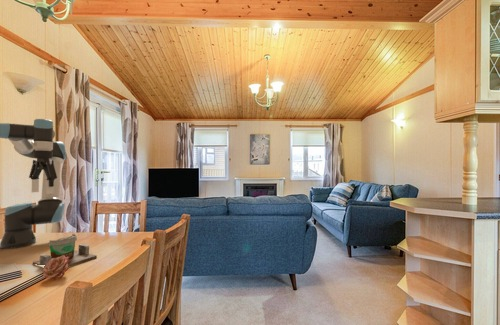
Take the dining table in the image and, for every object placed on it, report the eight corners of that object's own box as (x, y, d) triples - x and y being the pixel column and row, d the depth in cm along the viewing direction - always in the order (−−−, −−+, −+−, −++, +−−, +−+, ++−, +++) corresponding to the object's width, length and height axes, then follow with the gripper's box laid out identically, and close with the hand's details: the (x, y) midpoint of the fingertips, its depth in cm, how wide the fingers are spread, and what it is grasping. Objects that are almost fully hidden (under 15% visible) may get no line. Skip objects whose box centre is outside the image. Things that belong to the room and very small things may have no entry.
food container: (58, 264, 111) (59, 241, 111) (47, 262, 113) (48, 240, 113) (83, 254, 123) (83, 234, 123) (73, 253, 125) (73, 233, 125)
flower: (57, 267, 107) (46, 255, 102) (79, 262, 108) (69, 250, 103) (46, 288, 99) (34, 277, 94) (70, 283, 100) (59, 271, 95)
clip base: (32, 264, 114) (32, 253, 114) (74, 252, 130) (74, 242, 130) (55, 271, 106) (55, 259, 106) (96, 257, 122) (96, 247, 122)
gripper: (21, 150, 126) (20, 192, 126) (48, 149, 116) (47, 194, 115) (38, 151, 133) (37, 191, 133) (66, 150, 123) (65, 193, 122)
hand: (42, 192), depth 124 cm, fingers open, 13 cm apart
